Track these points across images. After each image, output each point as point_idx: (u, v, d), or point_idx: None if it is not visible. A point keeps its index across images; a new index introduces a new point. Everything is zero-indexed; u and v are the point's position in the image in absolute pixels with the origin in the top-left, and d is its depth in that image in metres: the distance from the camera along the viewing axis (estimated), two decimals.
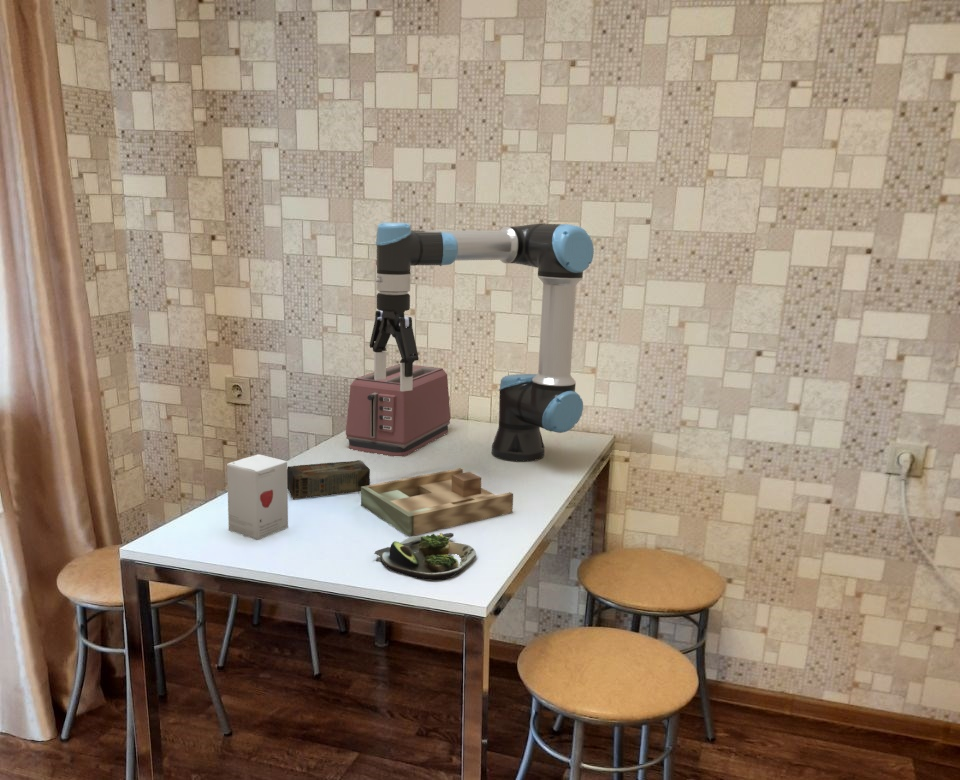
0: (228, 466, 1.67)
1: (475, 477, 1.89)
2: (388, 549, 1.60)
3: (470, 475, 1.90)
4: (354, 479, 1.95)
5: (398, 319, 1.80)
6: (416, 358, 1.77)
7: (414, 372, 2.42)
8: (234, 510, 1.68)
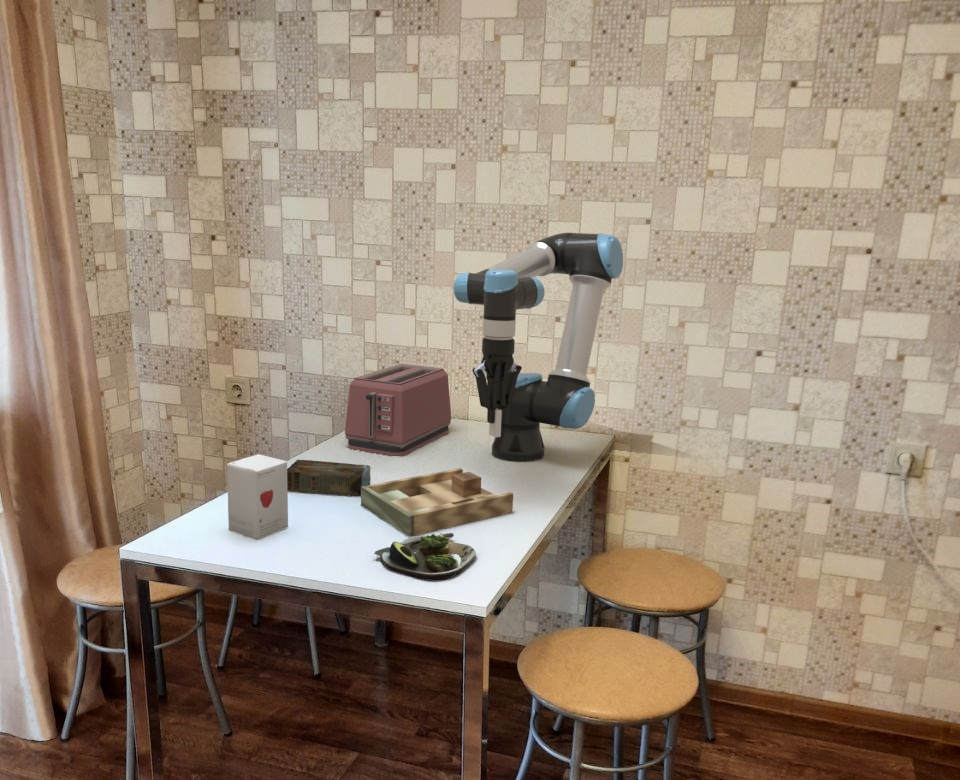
0: (228, 466, 1.67)
1: (475, 477, 1.89)
2: (388, 549, 1.60)
3: (470, 475, 1.90)
4: (346, 482, 1.93)
5: None
6: (485, 407, 1.88)
7: (414, 372, 2.42)
8: (234, 510, 1.68)
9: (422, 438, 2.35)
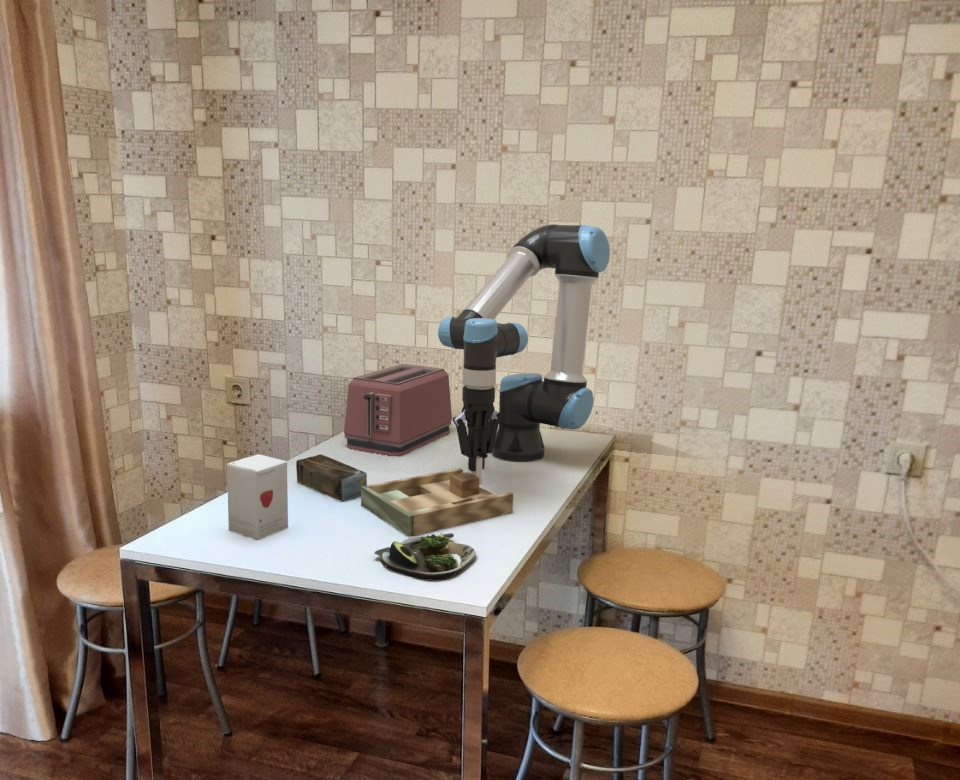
0: (228, 466, 1.67)
1: (473, 477, 1.89)
2: (388, 549, 1.60)
3: (468, 476, 1.90)
4: (332, 484, 1.91)
5: None
6: None
7: (414, 372, 2.42)
8: (234, 510, 1.68)
9: (421, 438, 2.35)
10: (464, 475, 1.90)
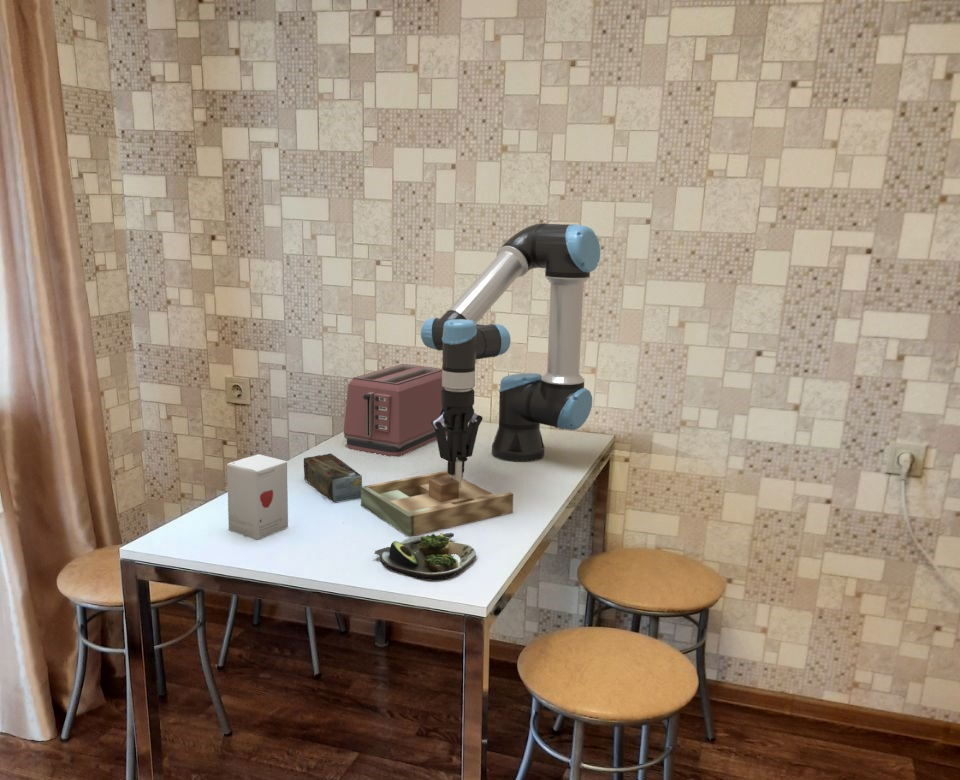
0: (228, 466, 1.67)
1: (452, 481, 1.86)
2: (388, 549, 1.60)
3: (447, 480, 1.87)
4: (326, 484, 1.91)
5: None
6: (445, 459, 1.84)
7: (415, 372, 2.42)
8: (234, 510, 1.68)
9: (421, 438, 2.35)
10: (443, 479, 1.87)
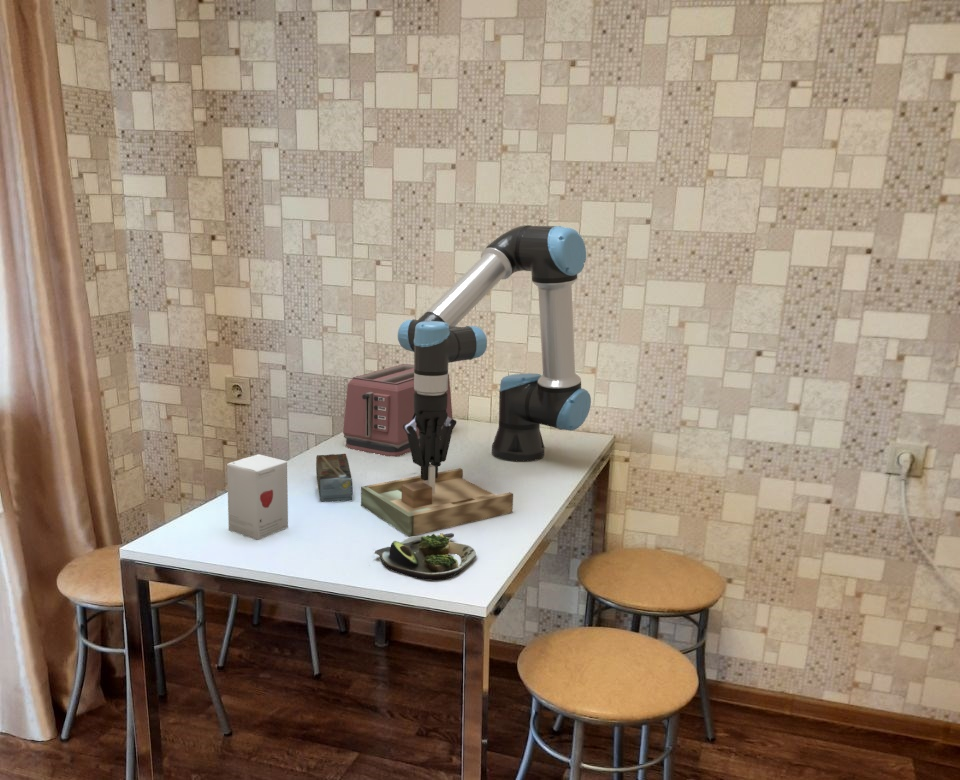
0: (228, 466, 1.67)
1: (426, 487, 1.81)
2: (388, 549, 1.60)
3: (420, 485, 1.82)
4: (319, 483, 1.92)
5: None
6: (417, 464, 1.80)
7: None
8: (234, 510, 1.68)
9: None
10: (416, 484, 1.83)
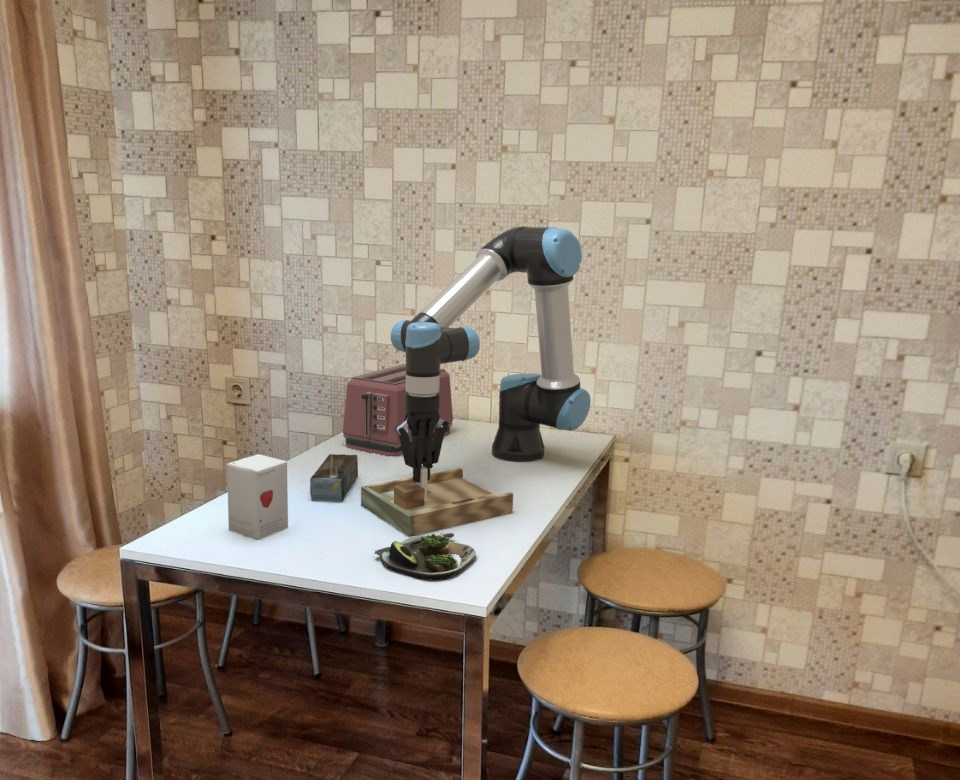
0: (228, 466, 1.67)
1: (418, 488, 1.80)
2: (388, 549, 1.60)
3: (413, 487, 1.81)
4: None
5: None
6: (409, 466, 1.79)
7: None
8: (234, 510, 1.68)
9: None
10: (409, 486, 1.82)
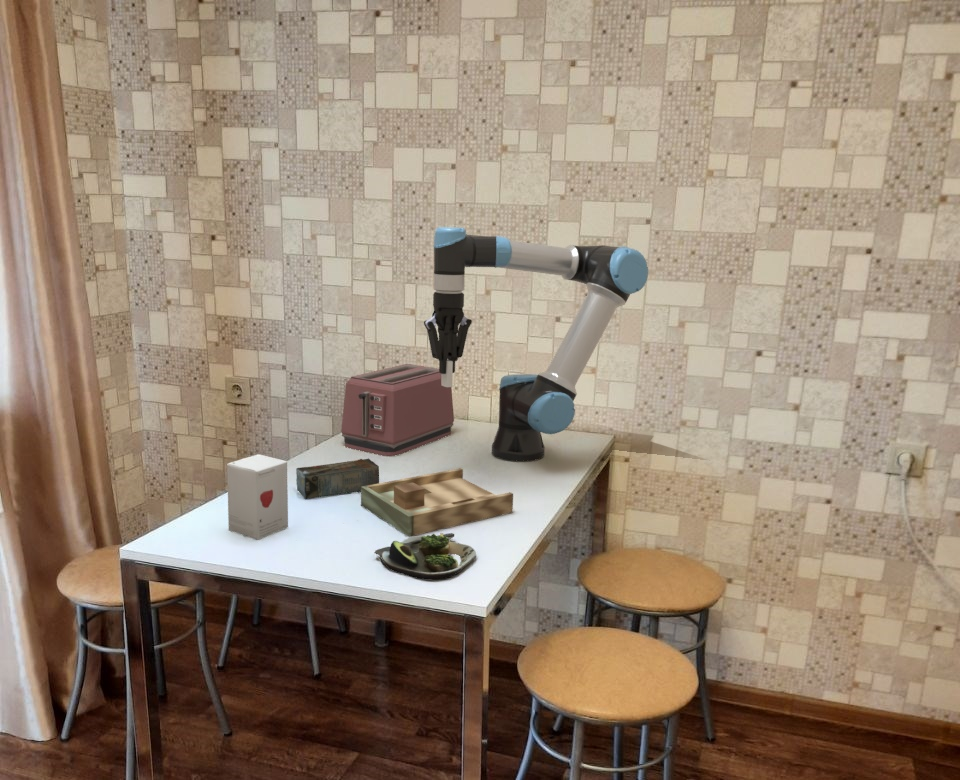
0: (228, 466, 1.67)
1: (418, 488, 1.80)
2: (388, 548, 1.60)
3: (413, 487, 1.81)
4: None
5: None
6: (437, 358, 1.98)
7: (415, 372, 2.42)
8: (234, 510, 1.68)
9: (418, 439, 2.34)
10: (409, 486, 1.82)
